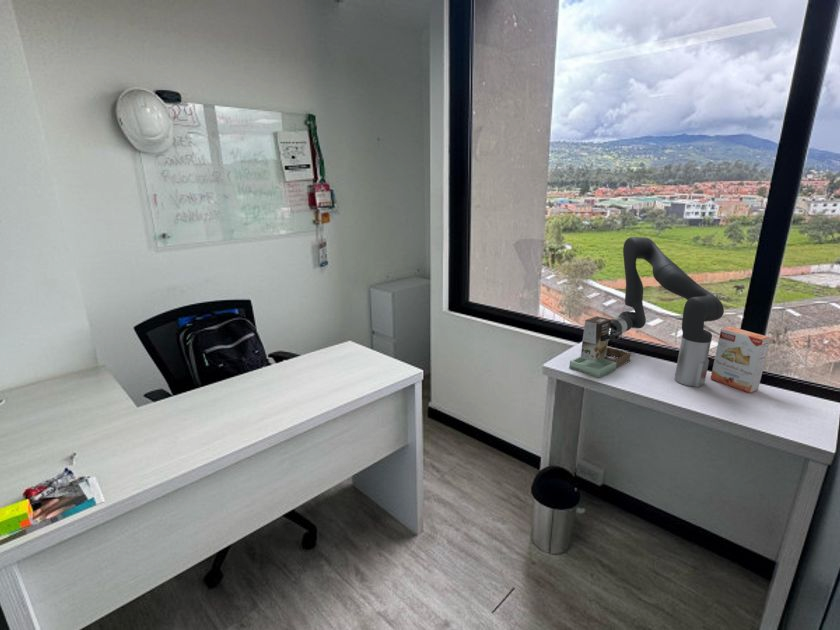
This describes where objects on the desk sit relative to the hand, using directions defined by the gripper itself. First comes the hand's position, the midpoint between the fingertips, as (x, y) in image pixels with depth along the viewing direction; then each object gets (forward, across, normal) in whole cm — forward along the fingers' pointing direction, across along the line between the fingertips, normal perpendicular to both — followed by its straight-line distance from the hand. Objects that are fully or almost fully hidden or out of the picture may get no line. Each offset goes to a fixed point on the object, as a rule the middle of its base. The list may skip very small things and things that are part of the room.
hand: (593, 336), depth 174 cm
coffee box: (-2, 0, +10) cm, 10 cm away
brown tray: (-15, +1, +14) cm, 21 cm away
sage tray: (-2, 0, +14) cm, 14 cm away
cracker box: (-29, +42, +14) cm, 53 cm away
